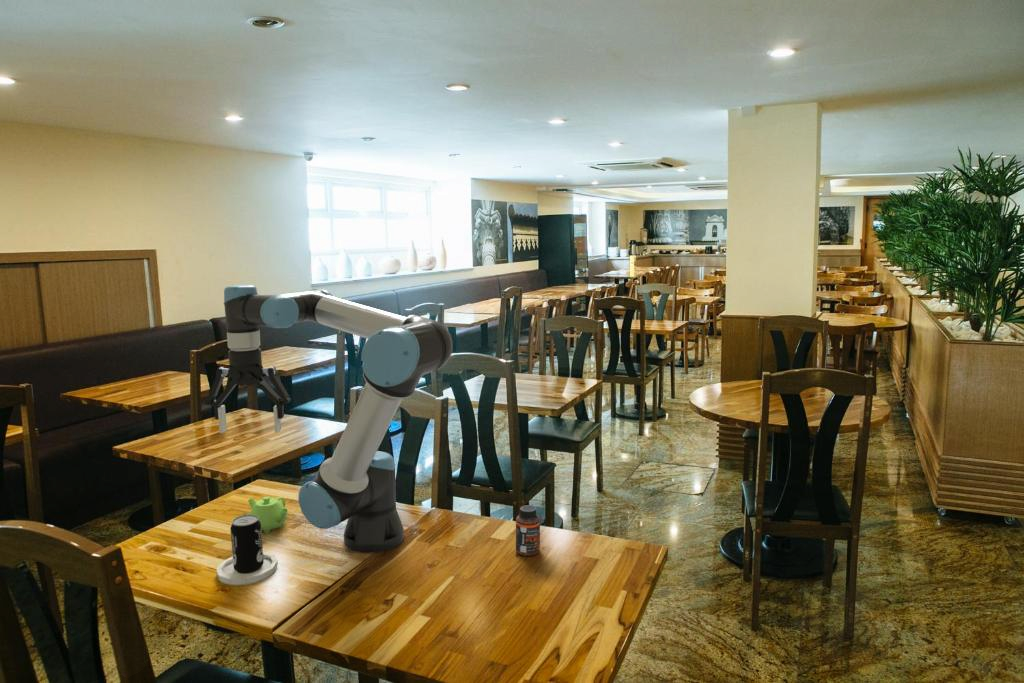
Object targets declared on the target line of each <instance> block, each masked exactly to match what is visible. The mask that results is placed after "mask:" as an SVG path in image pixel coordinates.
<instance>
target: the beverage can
mask: <svg viewBox="0 0 1024 683" xmlns="http://www.w3.org/2000/svg"><path fill="white" fill-rule="evenodd" d="M242 515H243V514H242ZM242 515H239V516H237V517H235V518H233V519H232V521H231V526H230V539H231V551H232V556H233V565H234V569H235V570H236V571H237V572H238V573H242V574H247V573H252V572H255V571H257V570H259V569H260V568H261V566H262V565H263V563H264V560H263V552H264V549H263V548H264V547H263V536H262V530H261V523H260V521H259V520H258V516H256V515H250V514H249V515H243V516H242Z"/></svg>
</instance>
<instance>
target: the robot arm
mask: <svg viewBox="0 0 1024 683" xmlns="http://www.w3.org/2000/svg"><path fill="white" fill-rule="evenodd" d="M223 301H224V302H223V305H224V314H225V324H226V326H225V327H226V339H227V348H228V349H229V350H228V351H227V352H228V364H229V367H228V368H226V367H224V366H221V367H219V368H217V369H216V371H215V379H214V382H213V384H212V386H211V388H210V391H209V392H208V393H209V394H208V395H207V397H206V399H205V405H206V406H210V407H211V406H212V407H213V408H214V409H213V410H214V411H213V412H214V419H215V420H216V421H218V427H219V429H218V430H219V434H224V433H225V432H227V430H228V428H227V427H228V425H227V415H226V414H227V412H226V405H225V404H223V402H224V401H226V399H227V398H228V396H229V395H230V394H231V393H232V392H233V390H234V389H235V387H236V386H237V385H238V386H240V387H243V386H249V387H253V386H254V385H255V386H256V387H257V388H259V389H260V390H261V391H262V392H263V393H264V394H265V395H266V396H267V397H268V399H270V401H271V402H272V403H274V406H273V407H272V408H273V410H272V411H273V422H274V433H279V432H280V431H281V430H282V422H281V421H282V420H281V419H284V417H285V411H284V409H285V408H284V407H285V406H284V405H287V404H288V403H290V402H291V400H292V398H291V396H290V395H289V393H288V392H287V390H286V388H285V385H284V384H283V383H282V381H281V380H280V377H279V376H278V374H277V370H276V366H274V365H271V366H270V367H263V361H262V360H263V358H262V357H263V356H262V349H261V347H260V346H261V333H260V332H261V330H260V327H266V328H271V329H272V328H273V329H288V328H291V327H292V326H293V325H294V324H297V323H304V322H313V323H315V324H319V325H322V326H325V327H326V326H327V327H330V328H333V329H335V330H338V331H342V332H345V333H348V334H352V335H354V336H358V337H361V338H363V339H367V340H366V341H365V343H364V345H363V347H362V351H361V357H360V361H361V362H362V365H361V367H362V370H363V371H362V372H363V373H362V376H363V379H364V381H365V383H364V387H363V389H362V390H361V392H360V395H359V398H357V399H358V400H357V402H356V404H355V406H354V407H353V411H352V412H351V414H350V417H349V419H348V421H347V423H346V426H345V428H344V430H343V432H342V435H341V436H340V439H339V441H338V443H337V446H336V447H335V450H334V452H333V454H332V457H327V459H325V460H324V461H322V463H321V464H320V467H319V469H318V471H317V473H316V476H315V477H314V478H313V479H312V480H309V481H307V482H305V483H304V484H303V485H302V486H300V489H299V491H298V495H297V496H298V498H297V499H298V505H299V507H300V511H301V512H302V515H303V516H304V518H305V519H306V520H307V521H308V522H309V524H311V525H312V526H314V527H316V528H317V529H321V530H328V529H331V528H333V527H336V526H338V525H340V524H341V523H342V522H344V521H346V520H347V522H346V525H345V528H344V532H343V544H344V546H345V547H346V548H347V549H348V550H350V551H352V552H357V553H361V554H373V553H374V554H375V553H376V554H377V553H380V552H381V553H382V552H386V551H389V550H392V549H394V548H396V547H398V546H399V545H401V544H402V542H403V541H404V539H405V529H404V524H403V523H402V520H401V517H400V515H399V512H398V509H397V497H396V496H397V495H396V494H397V490H396V489H397V488H396V468H395V459H394V457H393V456H392V454H390V453H388V452H386V451H380V450H379V448H380V445H381V444H382V441H383V440H384V437H385V435H386V434H387V431H388V430H389V427H390V425H391V423H392V422H393V419H394V417H395V415H396V413H397V411H398V409H399V406H400V405H401V403H402V401H403V400H404V399H407V398H410V397H411V396H412V395H413V394H414V392H415V390H416V388H417V386H418V384H419V383H420V380H421V378H422V377H423V376H424V375H425V376H426V375H427V374H430V373H433V372H436V371H438V370H440V369H441V368H443V367H444V366H445V365H446V364H447V363H448V361H450V359H451V356H452V353H453V338H452V336H451V334H450V332H449V330H448V329H447V328H446V326H445V325H443V324H442V323H441V322H439V321H437V320H435V319H431V318H428V317H423V316H420V315H416V314H411V315H410V314H409V315H408V316H403V315H400V314H396V313H393V312H389V311H385V310H382V309H380V308H375V307H371V306H368V305H364V304H360V303H357V302H353V301H349V300H346V299H343V298H338V297H336V296H333V294H332V293H331V292H330V291H329V290H326V289H323V288H321V289H319V288H318V289H317V288H314V289H309V290H302V291H295V292H294V291H293V292H287V293H285V292H284V293H278V294H259V293H258V289H257V286H256V285H253V284H233V285H228V286H226V287H225V288H224V289H223ZM263 374H265V375H266V376H267V377H268V378H269V380H270V382H271V384H272V386H273V387H274V389H275V390H274V389H273V388H272V387H271V386H270V385H269V384H268V383H267V381H266V380H265V378H263V377H262V376H263ZM228 375H229V376H230V378H231V381H230V382H229V383H227V384H228V385H227V386H226V387H225V389H223V391H222V393H221V394H220V395H219V396H218V397H217V395H218V393H219V390H220V388H221V386H222V384H223V381H224V379H225V377H226V376H228ZM216 397H217V398H216Z"/></svg>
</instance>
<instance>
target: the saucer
mask: <svg viewBox="0 0 1024 683" xmlns="http://www.w3.org/2000/svg"><path fill="white" fill-rule="evenodd" d="M263 560H264V563H263V565H262V566H261V568H260V569H259V570H257V571H255V572H252V573H247V574H242V573H238V572H237V571H236V570H235V569H234V565H233V555H232V556H230V557H229V558H227V559H225V560H223V561H222V562H221V563H220V564H218V566H217V568H216V575H217V579H218V581H219V582H220V583H222V584H224V585H227V586H238V587H240V586H247V585H252V584H256V583H259V582H261V581H264V580H266V579H268V578H270V577H271V576H272V575H273V574H275V572H276V571H277V569H278V565H279V563H278V562H279V561H278V558H277V557H276V556H275V554H274V553H273V554H272V553H271V552H267V551H263Z"/></svg>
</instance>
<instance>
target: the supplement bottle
mask: <svg viewBox="0 0 1024 683" xmlns="http://www.w3.org/2000/svg"><path fill="white" fill-rule="evenodd" d="M540 546H541V519H540V516H539V515H538V514H537V507H536V506H535V505H530V504H529V505H528V504H527V505H522V506H520V508H519V514H518V515H517V516H516V519H515V552H517V554H519V555H521V556H524V557H531V556H532V557H533V556H535V555H537V554H538V553H539V552H540V551H541V550H540V548H541V547H540Z"/></svg>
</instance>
